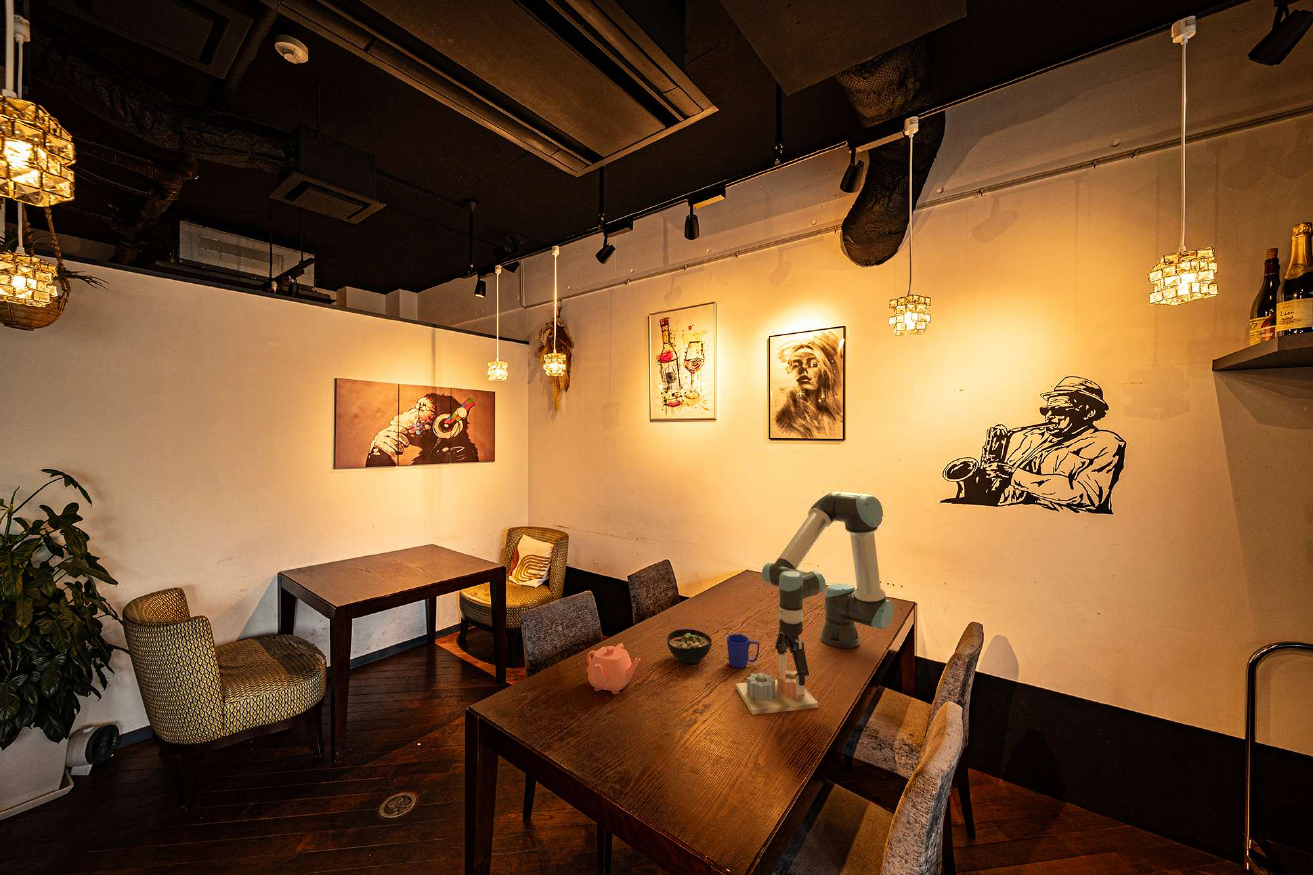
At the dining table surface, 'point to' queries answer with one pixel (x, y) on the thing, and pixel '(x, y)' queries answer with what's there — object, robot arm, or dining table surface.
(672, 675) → the dining table surface
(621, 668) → the teapot
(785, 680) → the gear
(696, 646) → the bowl
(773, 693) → the gear
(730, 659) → the mug
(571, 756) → the dining table surface
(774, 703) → the board
